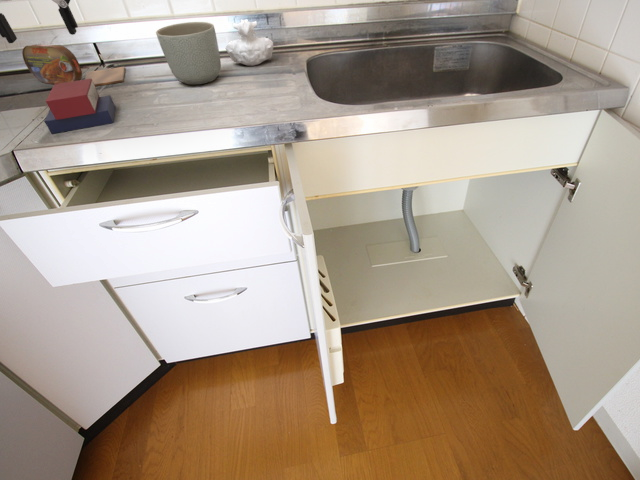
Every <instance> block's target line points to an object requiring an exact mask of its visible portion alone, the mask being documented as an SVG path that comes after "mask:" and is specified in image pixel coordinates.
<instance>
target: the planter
mask: <svg viewBox="0 0 640 480" xmlns="http://www.w3.org/2000/svg"><path fill="white" fill-rule="evenodd" d="M155 35H156V38H157V40H158V44H159V46H160V48H161V51H162V53H163V55H164V58H165V60H166V63H167V65H168V67H169V69H170V71H171V74H172V75H173V76H174V78H176V79H177V80H178V81H180V82H181V83H184V84H186V85H189V86H190V85H191V86H194V85H195V86H196V85H197V86H198V85H205V84H208V83H211V82H213V81H215V80H216V79H217V78H218V76H219V75H220V73H221V70H222V63H221V54H220V49H219V43H218V38H217V33H216V28H215V26H214V24H213V23H211V22H206V21H189V22H180V23H175V24H171V25H167V26H163V27H161V28H159V29H157V30H156V31H155Z"/></svg>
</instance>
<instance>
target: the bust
mask: <svg viewBox="0 0 640 480" xmlns="http://www.w3.org/2000/svg"><path fill="white" fill-rule="evenodd" d="M257 26H258V21H257V20H254V21H249V20H248V18H246V19H242V18H241V19H240V22H237V23H236V22H233V23H232V27H233V29H234V30H235V29H236V30H237V32H238V34H237V36H238V37H240V36H241V37H240V38H239V39H233V40H230V41H229V42H228V43H227V44H225V50H226V53H227V54H228V56H229V58H230V59H231V60H232V61H233V62H234V63H236V64H241V65H245V66H247V67H249V66H251V67H254V66H258V65H260V64H262V63H263V62H265V61H268V60H271V58H272V56H273V51H274V42H273V41H272V40H271V39H270V38H268V37H265V36H263V37H261V36H260V37H259V36H258V37H256V36H255V35H256V31H255V28H256V27H257Z"/></svg>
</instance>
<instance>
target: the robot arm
mask: <svg viewBox="0 0 640 480" xmlns="http://www.w3.org/2000/svg"><path fill="white" fill-rule="evenodd" d="M8 1H11V0H0V2H8ZM51 1H52V2H53V3H55V4H56V5H57V6H58V10H57V11H58V13H59V14H60V17H61V19H62V21H63V23H64V25H65V27H66V30H67V31H68V33H69V35H71V36H74V35H76V33H77V28H78V27H79V25H78V23H77V21H76V19H75V16H74V14H73V12H72V10H71V7H70V6H69V5H70V2H71V0H51ZM0 36H1V38H5V40H6V42H7V43H8V44H13V43H15V42H16V41H17V39H18V37H17V35H16V33H15V32H14V30H13V29H12V26H11V24H10V23H9V21H8V20H7V18H6V16H5V15H4V14H3V12H0Z"/></svg>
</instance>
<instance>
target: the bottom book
mask: <svg viewBox="0 0 640 480" xmlns="http://www.w3.org/2000/svg"><path fill="white" fill-rule="evenodd" d="M116 108H117V107H116V104H115V102H114V100H113V97H112V96H111V94H107V95H103V96H99V100H98V104H97V108H96V113H94V114H88V115H82V116H76V117H71V118H65V119H59V120H56V119H55V117H54V115H53V114H52V112H51V110H50V109H49V110H48V112H47V114H46V116H45V119H44V120H43V123H44V124H45V125H46V127H47V129H48V130H49V132H50V134H51V135H54V134H59V133H65V132H70V131H75V130H81V129H87V128H88V129H89V128H92V127H98V126H104V125H109V124H114V121H115V114H116Z"/></svg>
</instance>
